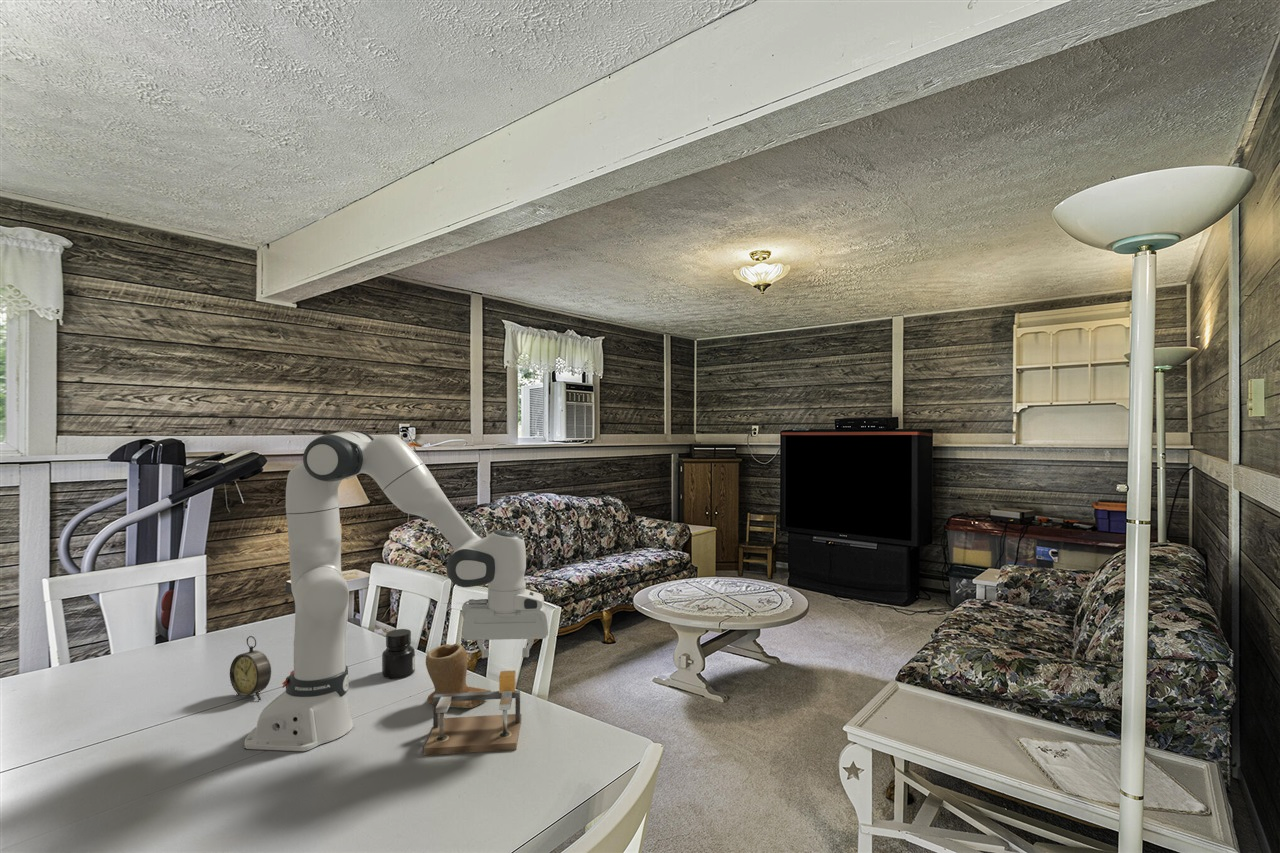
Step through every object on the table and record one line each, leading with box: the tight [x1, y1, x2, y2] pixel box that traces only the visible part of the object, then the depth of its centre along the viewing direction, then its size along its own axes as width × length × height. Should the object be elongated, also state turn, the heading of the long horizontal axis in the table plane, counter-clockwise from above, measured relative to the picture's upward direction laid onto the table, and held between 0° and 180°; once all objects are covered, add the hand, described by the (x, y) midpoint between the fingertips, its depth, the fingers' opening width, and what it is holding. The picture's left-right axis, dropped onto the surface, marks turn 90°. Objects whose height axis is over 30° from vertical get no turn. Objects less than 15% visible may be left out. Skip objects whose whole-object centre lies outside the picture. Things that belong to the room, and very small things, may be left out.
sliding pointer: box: [498, 670, 517, 734], centre depth 145 cm, size 4×8×11 cm, turn 6°
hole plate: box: [423, 689, 522, 756], centre depth 143 cm, size 20×14×9 cm
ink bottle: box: [381, 628, 416, 680], centre depth 180 cm, size 10×9×12 cm
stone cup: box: [425, 643, 492, 709], centre depth 160 cm, size 15×12×15 cm
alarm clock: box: [229, 635, 272, 701], centre depth 165 cm, size 11×5×16 cm, turn 68°
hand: (505, 656), depth 147 cm, fingers open, 8 cm apart
